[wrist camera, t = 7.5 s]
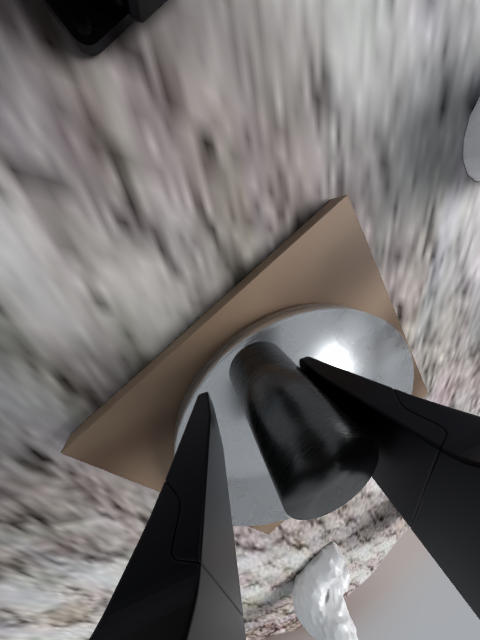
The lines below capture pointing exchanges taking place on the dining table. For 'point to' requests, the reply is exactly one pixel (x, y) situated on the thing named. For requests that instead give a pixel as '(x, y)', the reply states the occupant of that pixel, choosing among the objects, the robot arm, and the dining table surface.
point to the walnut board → (219, 327)
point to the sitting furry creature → (324, 596)
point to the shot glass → (473, 144)
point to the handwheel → (295, 410)
